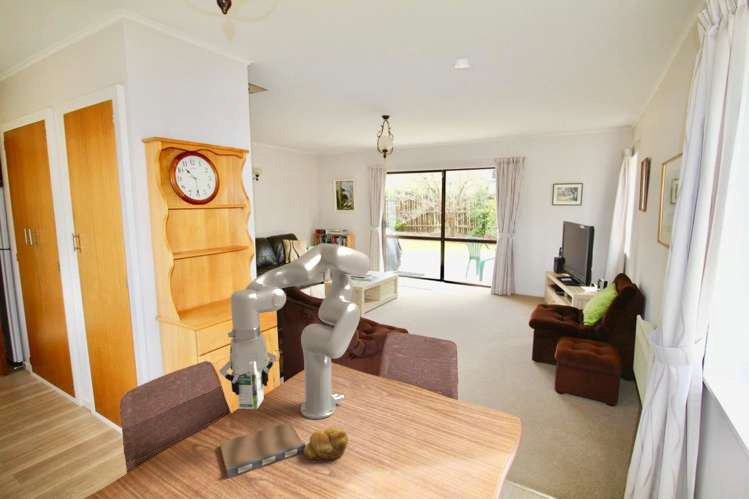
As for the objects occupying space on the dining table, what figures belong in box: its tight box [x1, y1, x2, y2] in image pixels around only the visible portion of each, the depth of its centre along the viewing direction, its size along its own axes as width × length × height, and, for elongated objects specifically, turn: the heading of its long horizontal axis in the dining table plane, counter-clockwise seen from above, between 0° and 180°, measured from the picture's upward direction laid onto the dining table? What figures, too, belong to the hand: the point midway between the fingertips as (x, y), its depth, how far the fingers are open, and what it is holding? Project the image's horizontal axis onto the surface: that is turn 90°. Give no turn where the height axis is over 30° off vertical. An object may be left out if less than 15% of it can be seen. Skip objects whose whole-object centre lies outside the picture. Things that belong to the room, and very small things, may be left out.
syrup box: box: [237, 361, 265, 410], centre depth 112 cm, size 6×6×14 cm
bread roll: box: [303, 426, 349, 461], centre depth 112 cm, size 13×10×8 cm
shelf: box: [219, 421, 306, 479], centre depth 114 cm, size 22×15×2 cm
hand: (250, 388), depth 112 cm, fingers closed on syrup box, 7 cm apart
